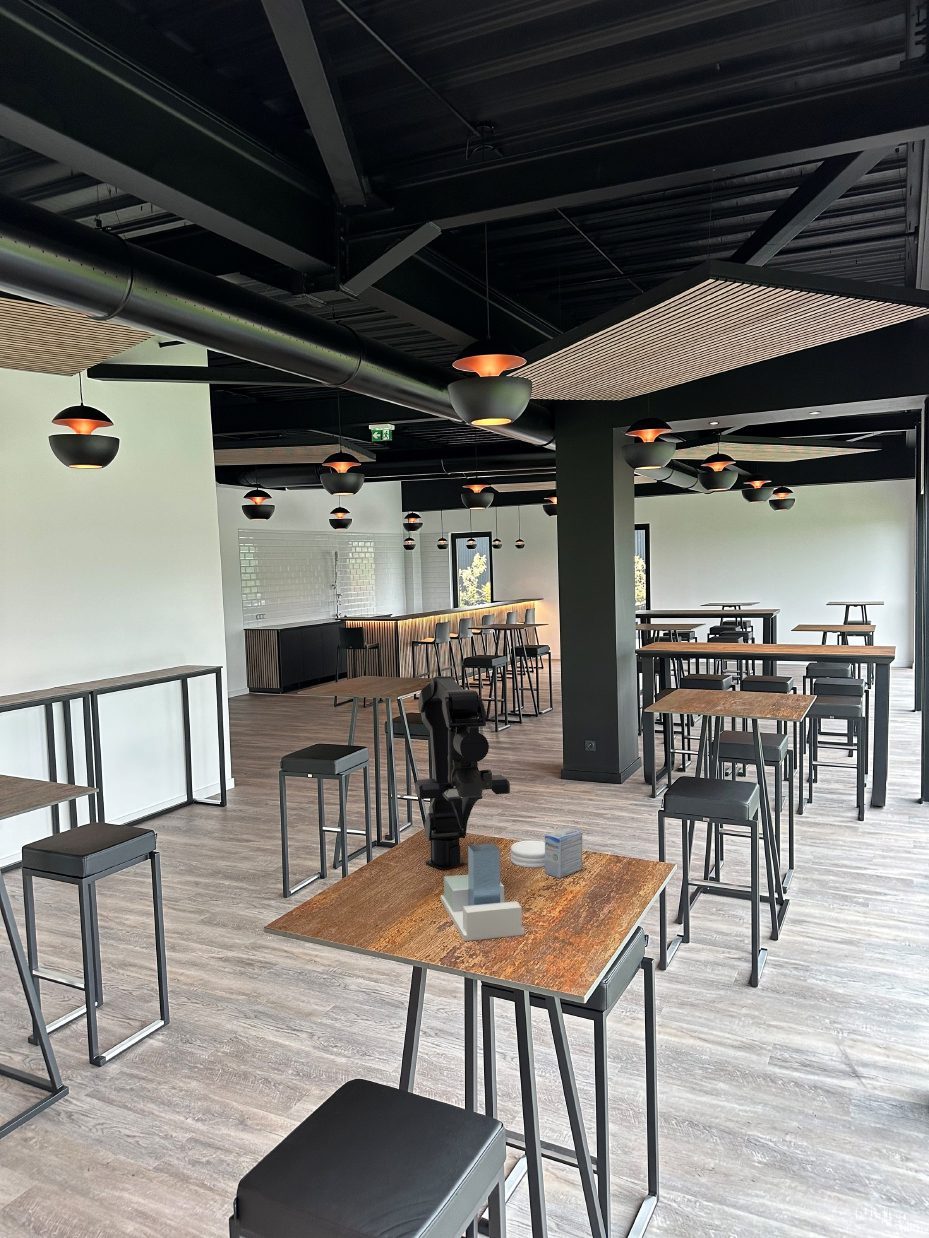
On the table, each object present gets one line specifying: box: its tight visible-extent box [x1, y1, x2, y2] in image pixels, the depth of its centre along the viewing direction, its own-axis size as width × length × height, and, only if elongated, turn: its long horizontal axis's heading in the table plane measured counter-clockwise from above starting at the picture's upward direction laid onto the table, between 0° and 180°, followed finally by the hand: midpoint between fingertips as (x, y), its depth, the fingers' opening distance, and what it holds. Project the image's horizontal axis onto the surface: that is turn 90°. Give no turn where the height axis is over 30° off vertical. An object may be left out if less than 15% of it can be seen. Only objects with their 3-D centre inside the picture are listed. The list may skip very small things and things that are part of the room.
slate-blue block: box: [467, 843, 501, 906], centre depth 151 cm, size 4×5×13 cm
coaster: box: [509, 840, 545, 869], centre depth 187 cm, size 10×10×4 cm
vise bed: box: [440, 894, 525, 942], centre depth 154 cm, size 20×11×5 cm, turn 14°
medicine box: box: [544, 827, 583, 879], centre depth 179 cm, size 8×4×9 cm, turn 135°
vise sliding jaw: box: [443, 874, 505, 912], centre depth 159 cm, size 8×10×4 cm
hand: (462, 828), depth 167 cm, fingers closed
